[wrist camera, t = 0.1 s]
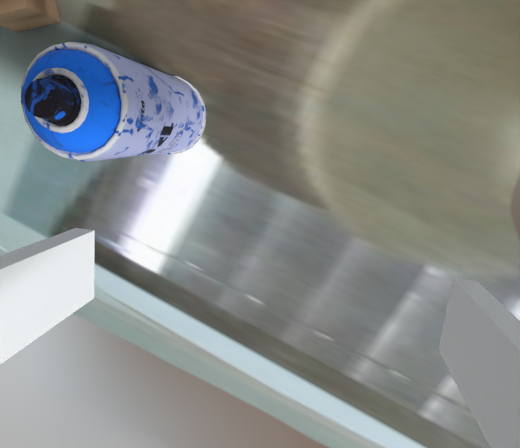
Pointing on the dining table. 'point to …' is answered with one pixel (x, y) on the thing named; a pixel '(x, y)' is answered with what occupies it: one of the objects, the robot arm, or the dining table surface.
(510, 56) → the dining table surface
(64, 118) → the aerosol can
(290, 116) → the dining table surface
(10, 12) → the walnut block
